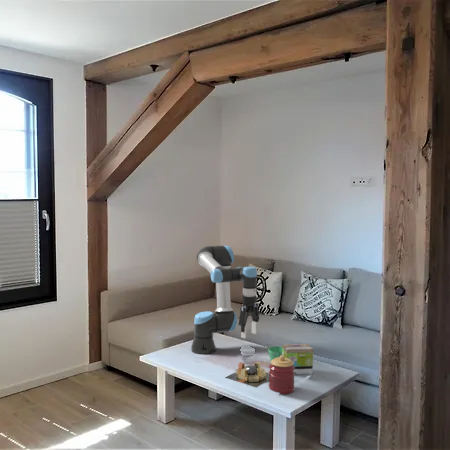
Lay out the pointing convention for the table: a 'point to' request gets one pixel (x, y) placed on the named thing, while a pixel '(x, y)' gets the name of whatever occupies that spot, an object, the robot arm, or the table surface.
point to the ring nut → (243, 375)
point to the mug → (275, 352)
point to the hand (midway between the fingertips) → (248, 335)
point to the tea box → (299, 357)
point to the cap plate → (233, 377)
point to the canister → (281, 375)
